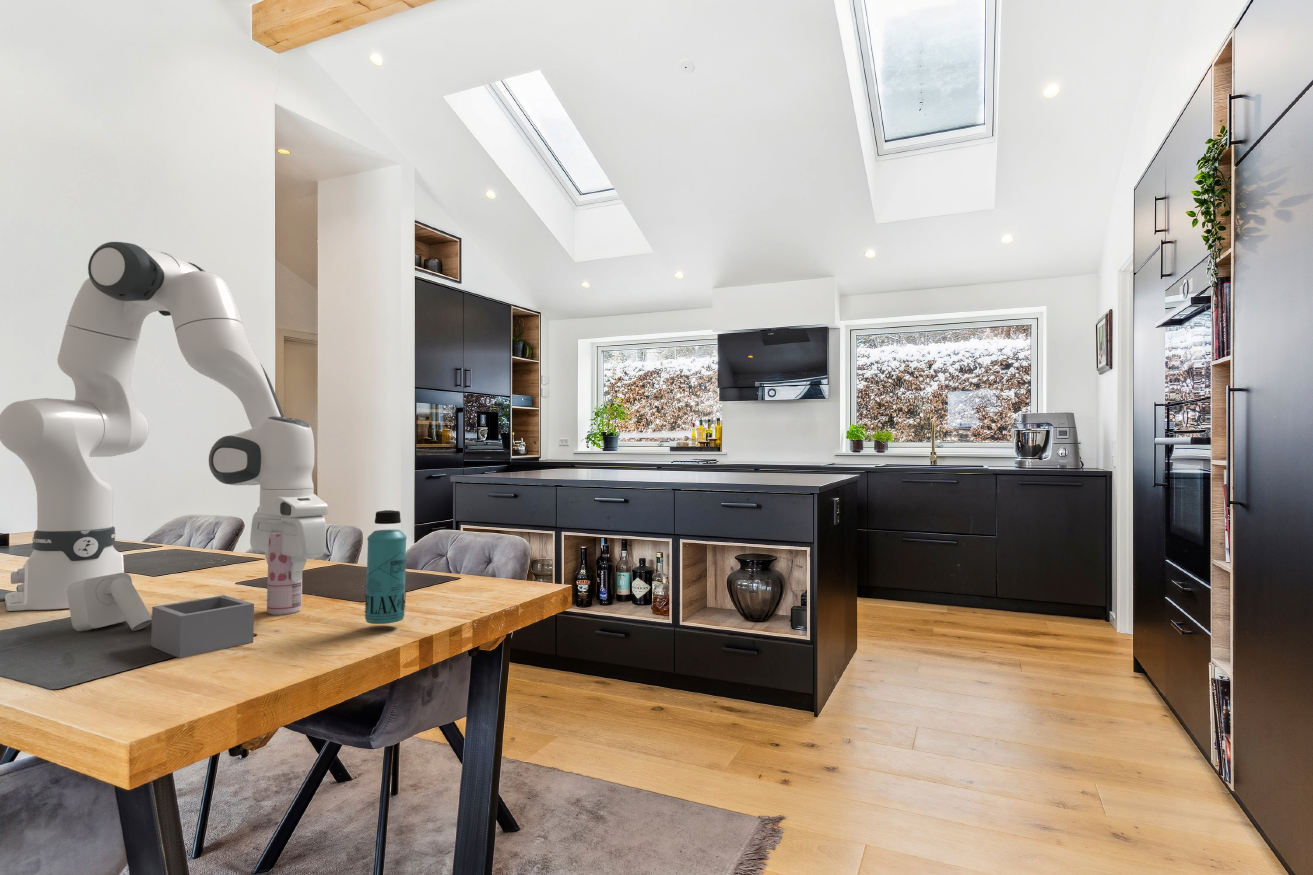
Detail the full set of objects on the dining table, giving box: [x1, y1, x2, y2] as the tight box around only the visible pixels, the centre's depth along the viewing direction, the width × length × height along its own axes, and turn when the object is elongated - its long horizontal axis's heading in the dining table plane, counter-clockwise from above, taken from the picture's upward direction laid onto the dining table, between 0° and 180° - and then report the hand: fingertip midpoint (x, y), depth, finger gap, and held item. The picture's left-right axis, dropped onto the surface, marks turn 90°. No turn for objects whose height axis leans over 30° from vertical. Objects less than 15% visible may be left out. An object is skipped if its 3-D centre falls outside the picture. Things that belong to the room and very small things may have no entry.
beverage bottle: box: [364, 509, 408, 625], centre depth 114 cm, size 6×7×20 cm
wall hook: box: [67, 572, 152, 632], centre depth 111 cm, size 8×10×10 cm
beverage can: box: [266, 531, 303, 616], centre depth 124 cm, size 6×6×15 cm
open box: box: [150, 594, 255, 659], centre depth 103 cm, size 10×10×6 cm
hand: (285, 578), depth 124 cm, fingers closed on beverage can, 6 cm apart
